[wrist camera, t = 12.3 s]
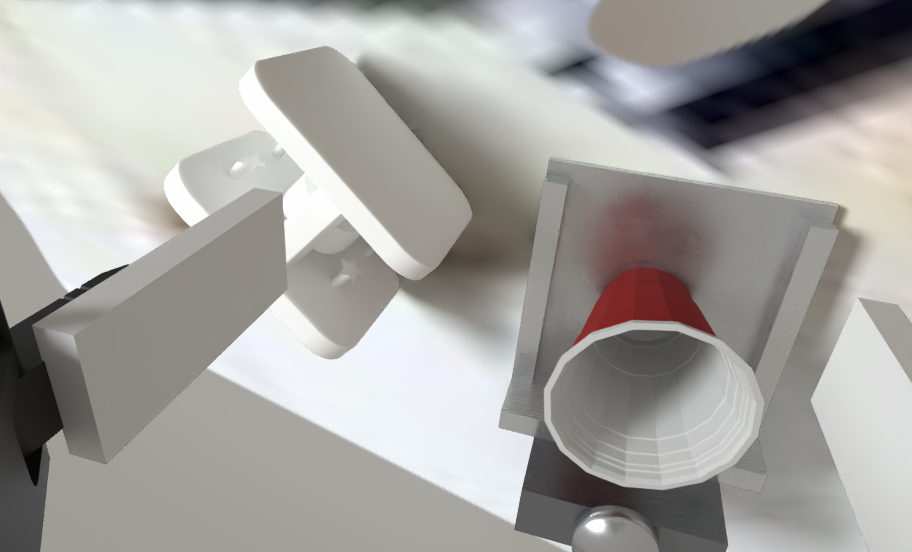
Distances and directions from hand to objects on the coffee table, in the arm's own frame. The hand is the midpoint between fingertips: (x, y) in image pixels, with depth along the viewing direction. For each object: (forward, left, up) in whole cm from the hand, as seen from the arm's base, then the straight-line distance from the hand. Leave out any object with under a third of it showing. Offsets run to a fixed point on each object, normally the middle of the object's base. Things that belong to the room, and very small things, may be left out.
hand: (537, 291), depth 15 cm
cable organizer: (+8, -15, -27) cm, 32 cm away
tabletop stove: (+15, +6, -26) cm, 31 cm away
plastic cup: (+13, +6, -26) cm, 30 cm away
